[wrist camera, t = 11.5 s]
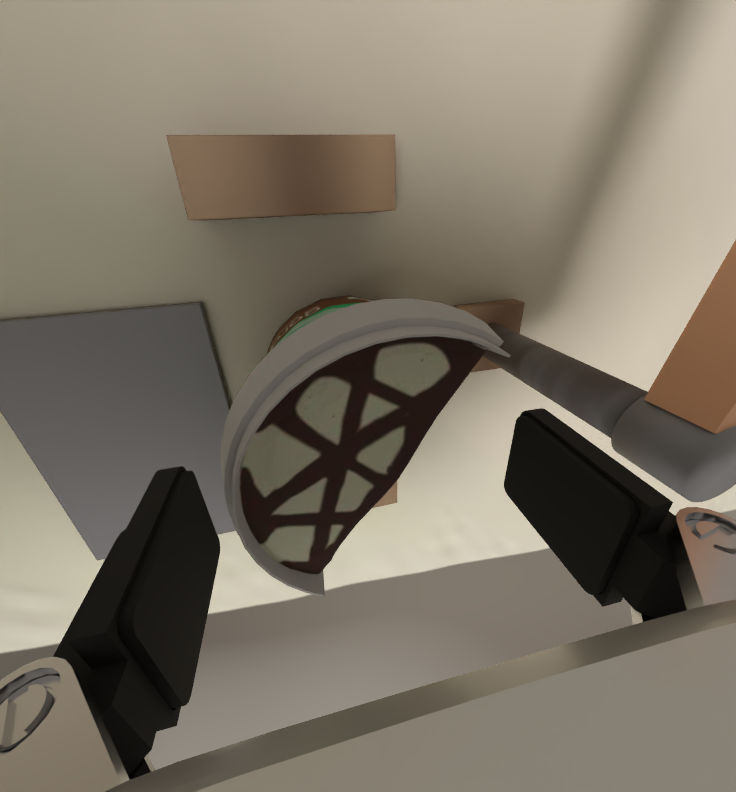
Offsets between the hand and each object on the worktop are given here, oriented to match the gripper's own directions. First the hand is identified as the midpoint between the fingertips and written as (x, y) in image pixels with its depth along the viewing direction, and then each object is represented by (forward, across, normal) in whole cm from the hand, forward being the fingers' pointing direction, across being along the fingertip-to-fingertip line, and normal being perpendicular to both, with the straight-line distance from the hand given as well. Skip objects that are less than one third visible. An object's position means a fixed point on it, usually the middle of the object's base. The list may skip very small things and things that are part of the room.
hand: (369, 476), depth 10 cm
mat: (+10, +11, +4) cm, 16 cm away
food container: (+11, +1, 0) cm, 11 cm away
